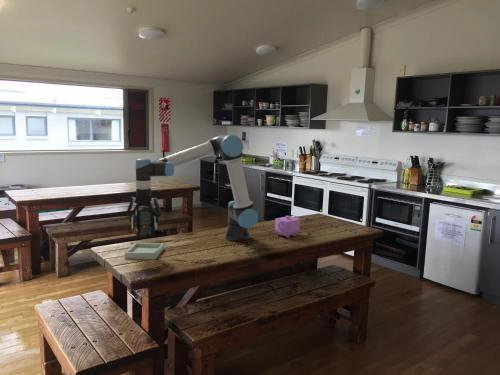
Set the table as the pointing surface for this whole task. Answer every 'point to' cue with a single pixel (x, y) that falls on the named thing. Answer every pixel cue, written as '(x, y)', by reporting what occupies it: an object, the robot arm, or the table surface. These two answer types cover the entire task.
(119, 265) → the table surface
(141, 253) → the tray
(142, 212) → the tampon box
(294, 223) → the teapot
